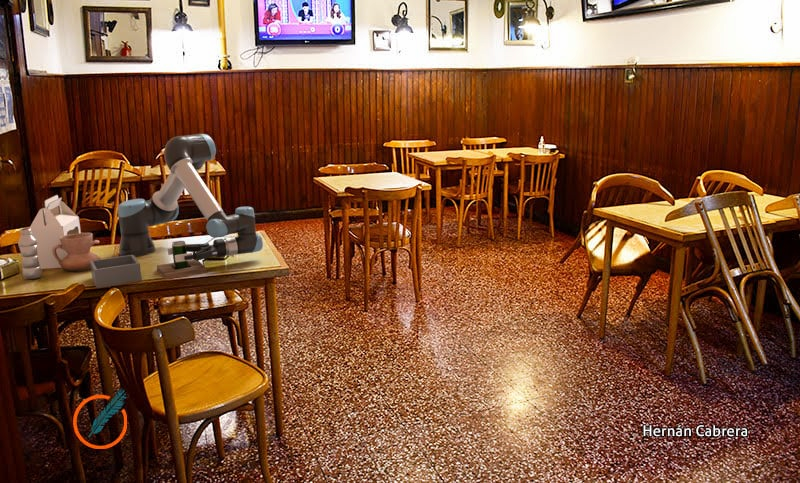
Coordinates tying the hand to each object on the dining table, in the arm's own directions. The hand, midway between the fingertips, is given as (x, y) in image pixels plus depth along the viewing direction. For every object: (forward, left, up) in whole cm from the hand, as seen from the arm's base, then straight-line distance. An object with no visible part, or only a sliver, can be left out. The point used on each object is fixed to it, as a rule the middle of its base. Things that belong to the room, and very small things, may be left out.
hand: (171, 255), depth 262 cm
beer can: (0, +3, -7) cm, 8 cm away
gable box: (-47, -38, -8) cm, 61 cm away
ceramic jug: (-29, -32, -8) cm, 44 cm away
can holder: (0, +3, -7) cm, 8 cm away
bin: (-3, -21, -7) cm, 22 cm away
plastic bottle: (-24, -49, -7) cm, 55 cm away
